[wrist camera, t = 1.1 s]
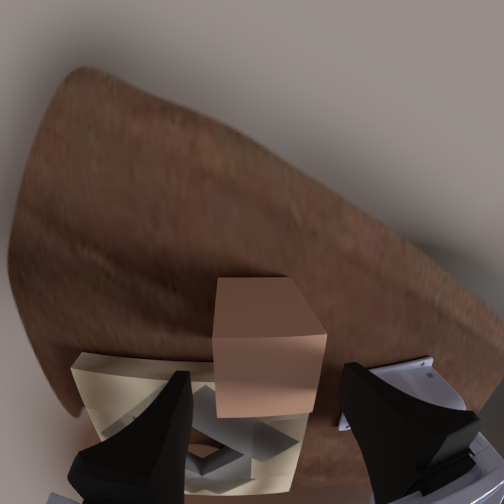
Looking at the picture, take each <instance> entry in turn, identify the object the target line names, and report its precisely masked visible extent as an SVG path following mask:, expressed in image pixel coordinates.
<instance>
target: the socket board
mask: <svg viewBox="0 0 504 504" xmlns="http://www.w3.org/2000/svg"><path fill="white" fill-rule="evenodd" d="M70 369H71V371H72V374H73V377H74V380H75V382H76V385H77V388H78V390H79V393H80V395H81V398H82V400H83V403H84V405H85V407H86V410H87V412H88V414H89V416H90V418H91V421H92V423H93V425H94V427H95V429H96V431H97V433H98V435H99V437H100V439H101V441H104V440H106V439H108V438H109V437H111V436H113V435H115V434H116V433H118V432H119V431H121V430H122V429H123V428H125V427H126V426H127V425H129V424H130V423H131V422H132V421H133V420H135V419H136V418H137V417H138V416H139V415H140V414H141V413H142V412H143V411H144V410H145V409H146V408H147V407H148V406H149V405H150V404H151V403H152V402H153V400H154V399H155V398H156V397H157V396H158V394H159V393H160V392H161V391H162V389H163V388H164V387H165V385H166V384H167V382H168V381H169V380H170V378H171V377H172V375H173V373H174V372H175V371H176V370H180V371H190V378H191V386H192V393H193V401H194V407H193V422H192V427H193V428H195V429H197V430H198V431H200V432H202V433H204V434H206V435H207V436H209V437H211V438H213V439H215V440H216V441H218V442H220V443H222V444H224V445H226V446H225V447H223V448H222V449H220V450H218V451H216V452H214V453H212V454H210V455H208V456H207V457H204V458H203V459H202V458H200V457H198V456H196V455H194V454H192V453H190V452H188V451H187V456H186V463H185V486H184V494H196V495H255V494H269V493H280V492H288V491H289V489H290V486H291V483H292V479H293V476H294V472H295V469H296V465H297V461H298V457H299V454H300V450H301V446H302V442H303V438H304V433H305V429H306V425H307V420H308V416H309V413H300V414H291V415H279V416H265V417H241V418H217V408H216V395H215V379H214V362H181V361H162V360H147V359H135V358H125V357H116V356H107V355H99V354H92V353H85V352H82V353H81V354H80V356H79V357H78V358H77V360H76V361H75V362H74V364H73V365H72V366H71V368H70Z"/></svg>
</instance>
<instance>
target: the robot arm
mask: <svg viewBox="0 0 504 504" xmlns="http://www.w3.org/2000/svg"><path fill="white" fill-rule="evenodd" d="M432 363H433V358H432V357H426V358H422V359H418V360H414V361H410V362H405V363H401V364H396V365H391V366H386V367H381V368H375V369H370V370H367V369H366V368H365V367H363V366H362V365H360V364H358V363H357V362H352V363H344V368H343V372H342V376H341V380H340V384H339V388H338V392H337V397H338V400H339V403H340V406H341V409H342V415H341V418H340V421H339V424H338V429H339V430H340V431H342V430H347V429H351V430H352V432H353V434H354V436H355V438H356V440H357V442H358V444H359V447H360V449H361V452H362V455H363V457H364V460H365V463H366V467H367V470H368V474H369V477H370V481H371V486H372V490H373V492H372V494H371V498H370V504H501V502H502V500H503V498H504V460H503V459H502V458H501V456H500V455H499V454H498V453H497V452H496V450H495V449H494V448H493V447H492V446H491V444H490V443H489V442H488V441H487V440H486V439H485V438H484V436H483V435H482V434H481V433H480V432H479V431H480V429H481V426H482V421H481V419H480V418H479V417H478V416H477V415H476V414H475V413H474V412H473V411H467V410H466V407H465V404H464V402H463V400H462V398H461V397H460V395H459V394H458V393H457V392H456V391H455V390H454V389H453V388H452V387H451V386H450V385H449V384H448V383H447V382H446V381H445V380H444V379H443V378H442V377H441V376H440V375H439V374H438V373H437V372H436V371H435V370H434V369H433V368H432V367H431V365H432ZM193 407H194V401H193V393H192V386H191V378H190V371H180V370H176V371H175V372H174V373H173V375H172V377H171V378H170V380H169V381H168V382H167V384H166V385H165V387H164V388H163V389H162V391H161V392H160V393H159V394H158V396H157V397H156V398H155V399H154V400H153V402H152V403H151V404H150V405H149V406H148V407H147V408H146V409H145V410H144V411H143V412H142V413H141V414H140V415H139V416H138V417H137V418H136V419H135V420H133V421H132V422H131V423H130V424H129V425H127V426H126V427H125V428H123V429H122V430H121V431H119V432H118V433H116V434H115V435H113V436H111V437H109V438H108V439H106V440H104V441H102V442H100V443H98V444H96V445H94V446H92V447H90V448H87V449H85V450H82V451H79V452H78V454H77V456H76V457H75V459H74V461H73V463H72V466H71V468H70V471H69V473H68V476H67V478H68V481H69V482H70V484H71V485H72V487H73V488H74V489H75V490H76V491H77V492H78V493H79V494H80V496H81V497H82V498H83V499H84V501H83V503H82V504H184V486H185V463H186V456H187V450H188V445H189V439H190V434H191V428H192V422H193ZM46 504H79V503H78V502H76V501H73V500H71V499H68V498H66V497H63V496H60V495H58V494H55V493H53V492H52V493H50V495H49V498H48V501H47V503H46Z"/></svg>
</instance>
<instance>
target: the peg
mask: <svg viewBox="0 0 504 504" xmlns="http://www.w3.org/2000/svg"><path fill="white" fill-rule="evenodd" d="M326 339H327V333H326V331H325V330H324V328H323V327H322V325H321V324H320V322H319V321H318V319H317V317H316V316H315V314H314V313H313V311H312V310H311V308H310V306H309V305H308V303H307V302H306V300H305V299H304V297H303V296H302V294H301V293H300V291H299V289H298V288H297V286H296V285H295V283H294V282H293V280H292V279H291V277H253V278H218V280H217V291H216V301H215V313H214V324H213V336H212V342H213V362H214V379H215V395H216V408H217V418H241V417H265V416H279V415H291V414H300V413H309V412H313V407H314V403H315V398H316V393H317V388H318V383H319V378H320V373H321V368H322V362H323V357H324V351H325V345H326Z"/></svg>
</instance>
